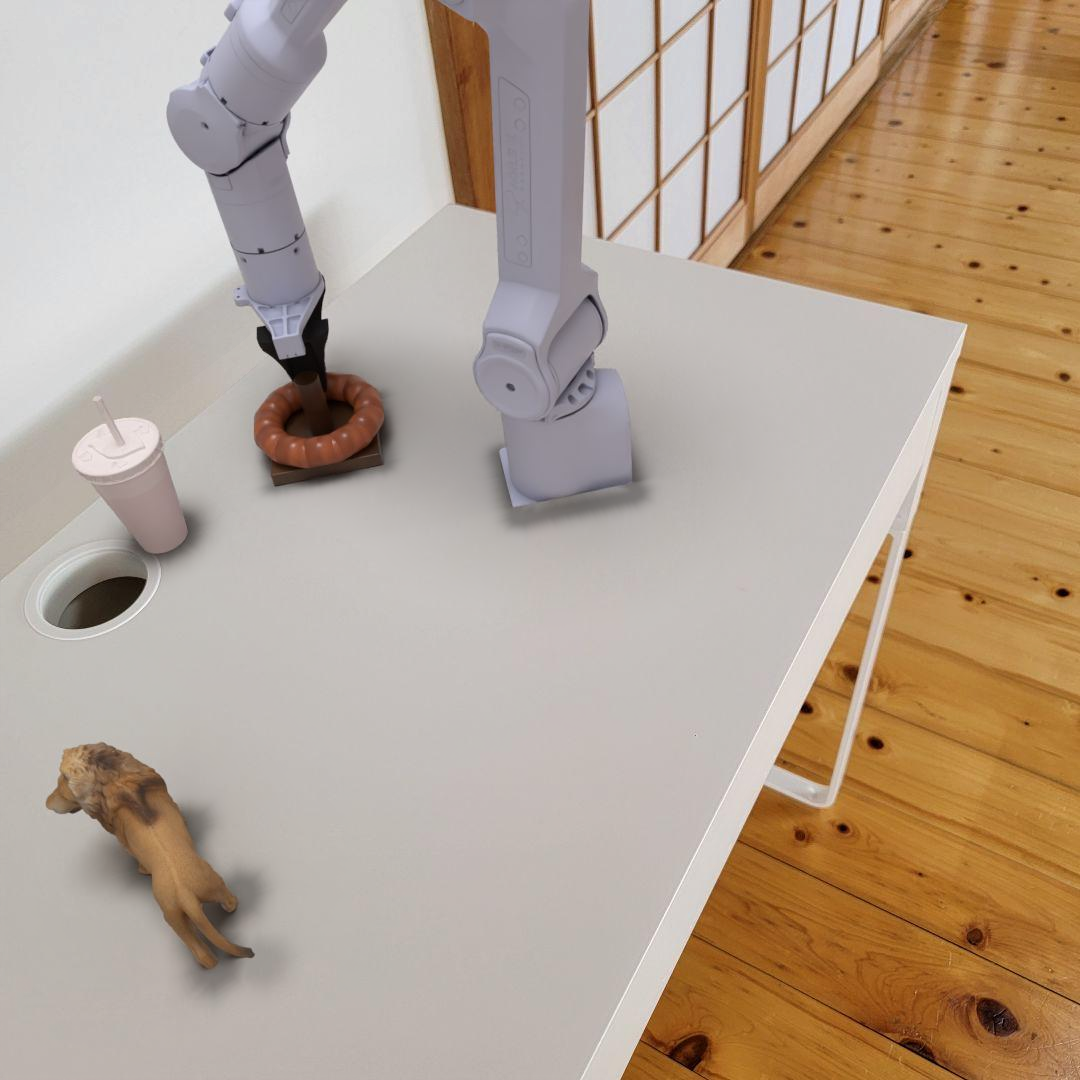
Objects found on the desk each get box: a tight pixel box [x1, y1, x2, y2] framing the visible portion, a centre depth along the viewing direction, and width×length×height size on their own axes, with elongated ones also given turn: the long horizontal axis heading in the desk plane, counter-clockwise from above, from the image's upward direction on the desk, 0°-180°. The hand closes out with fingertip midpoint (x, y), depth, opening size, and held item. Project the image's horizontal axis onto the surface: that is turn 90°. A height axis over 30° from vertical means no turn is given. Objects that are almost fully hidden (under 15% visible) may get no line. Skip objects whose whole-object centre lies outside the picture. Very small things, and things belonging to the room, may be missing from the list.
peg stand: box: [270, 371, 384, 486], centre depth 82 cm, size 9×9×7 cm
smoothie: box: [71, 395, 189, 555], centre depth 74 cm, size 6×6×14 cm
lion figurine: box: [45, 741, 256, 970], centre depth 55 cm, size 15×5×9 cm, turn 50°
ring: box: [253, 371, 385, 469], centre depth 83 cm, size 11×11×2 cm
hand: (313, 377), depth 85 cm, fingers open, 4 cm apart
